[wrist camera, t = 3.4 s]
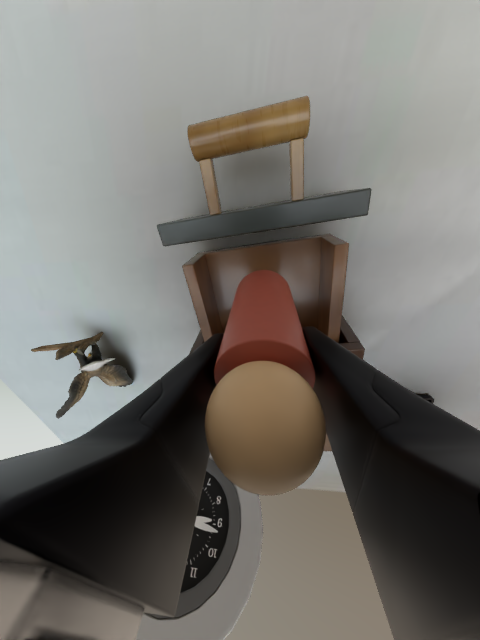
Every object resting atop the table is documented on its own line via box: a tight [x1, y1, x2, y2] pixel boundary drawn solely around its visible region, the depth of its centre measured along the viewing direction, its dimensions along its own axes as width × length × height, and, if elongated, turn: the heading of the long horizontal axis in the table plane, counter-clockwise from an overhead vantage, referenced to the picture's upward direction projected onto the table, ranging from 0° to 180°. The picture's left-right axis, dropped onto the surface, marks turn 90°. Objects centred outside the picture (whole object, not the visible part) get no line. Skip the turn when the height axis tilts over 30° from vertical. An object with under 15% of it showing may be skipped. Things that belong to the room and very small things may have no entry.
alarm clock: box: [136, 453, 263, 640], centre depth 27 cm, size 21×8×20 cm, turn 85°
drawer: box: [157, 96, 371, 344], centre depth 14 cm, size 15×11×4 cm
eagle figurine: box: [31, 332, 133, 418], centre depth 23 cm, size 8×7×9 cm
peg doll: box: [205, 270, 326, 495], centre depth 9 cm, size 3×3×10 cm
